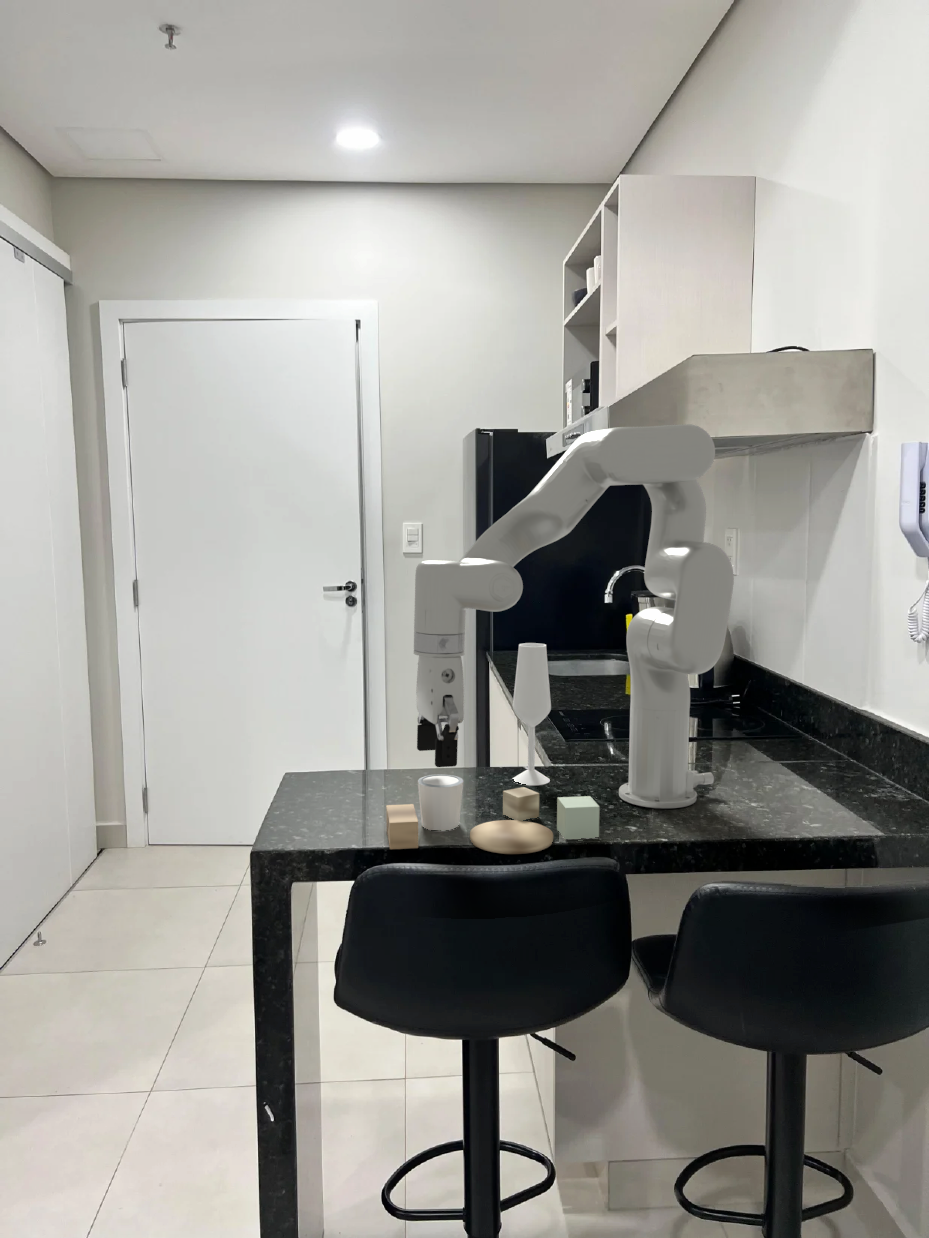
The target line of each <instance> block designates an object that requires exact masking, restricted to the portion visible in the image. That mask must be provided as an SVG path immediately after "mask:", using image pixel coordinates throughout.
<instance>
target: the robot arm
mask: <svg viewBox="0 0 929 1238" xmlns="http://www.w3.org/2000/svg"><path fill="white" fill-rule="evenodd" d="M715 457H716V446H715V443H714V440H713V438H712V437H711V435H710V434H709V433H708V431H707V430H705V429H704V428H703V427H700V426H698V425H696V424H693V423H692V424H690V423H688V424H687V423H685V424H670V425H652V426H649V425H648V426H619V427H617V426H616V427H610V428H609V427H608V428H604V429H597V430H593V431H588V432H585V433H584V434H582V435H581V436H579V437H578V438H577V439H576V440H574V442H573V443H572V444H571V445H570V446H569V447H568V448H567V450H565V452H564V453H563V454H562V455H561V457H560V458H559V459H558V460H557V461H556V462H555V464H554V465H553V466H552V467H551V468H550V470H549V471H548V472H547V473H546V474H545V475H544V476H543V478H542V479H541V480H540V481H539V482H538V484H536V486H535V487H534V488H533V489H532V490H531V492H530V493H529V494H528V495H527V496H526V497H525V498H523V499H522V500H521V501H520V502H518V503H517V504H516V505H515V506H513V507H512V508H511V509H510V510H509V511H508V512H507V513H506V514H504V515H502V517H501V518H499V519H498V520H497V521H495V522H494V523H493V524H492V525H491V526H489V527H488V528H487V529H486V530H485V531H484V532H483V533H482V534H481V535H480V536H479V537H478V538H477V539H476V541H474V543H473V544H472V545H471V547H470V548H468V550H467V551H466V552H465V553H464V555H463V556H462V557H461V558H460V560H458V561H457V560H456V561H455V560H443V559H442V560H439V559H438V560H434V559H433V560H432V559H431V560H428V559H427V560H423V561H421V562H419V563H418V564H417V565H416V569H415V579H414V580H415V581H414V582H415V583H414V586H415V587H414V617H413V618H414V619H413V620H414V621H413V624H414V625H413V654H414V655H416V656H418V662H417V670H416V671H417V676H416V691H415V692H416V693H415V695H416V700H415V701H416V710H417V712H418V715H417V729H416V731H417V732H416V733H417V735H416V749H417V750H418V751H419V752H423V751H434V766H435V767H436V768H450V767H456V766H457V765H458V745H459V744H458V742H459V732H458V731H460V727H459V724H462V723H463V722H464V720H465V693H464V692H465V691H464V690H465V686H464V685H465V683H464V667H463V659H462V657H463V656H465V648H466V647H465V643H466V642H465V640H466V615H467V613H466V611H467V609H469V610H480V611H485V612H497V613H498V612H502V611H506V610H508V609H510V608H512V607H513V606H515V605H516V604H517V602H518V601H519V600H520V599H521V596H522V594H523V589H524V585H523V584H524V583H523V580H522V577H521V574H520V573H519V572H518V570H517V569H515V568H514V567H515V566H516V565H517V564H518V563H519V562H520V561H522V559H524V558H525V557H527V556H528V555H529V554H532V553H533V552H534V551H536V550H538V549H540V548H542V547H545V546H547V545H550V544H553V543H554V542H557V541H559V540H560V539H562V538H564V537H565V536H567V535H568V534H570V533H571V532H572V530H574V529H575V527H576V525H578V523H579V522H580V521H581V519H583V518H584V516H586V514H587V512H588V511H590V509H591V508H592V506H594V504H595V503H596V502H597V501H598V499H600V497H601V496H602V495H603V494H604V493H605V491H606V490H607V489H608V488H609V487H610V486H625V485H627V486H628V485H630V486H631V485H635V486H636V485H642V486H643V487H644V488H645V490H646V492H647V494H648V497H649V498H650V499H649V500H650V503H651V511H652V512H651V521H650V522H651V523H650V531H649V537H648V538H649V539H648V545H647V551H646V558H645V563H644V564H645V565H644V572H643V579H644V583H645V586H646V588H647V589H648V590H649V592H650V593H652V594H653V595H654V596H656V597H660V598H663V599H667V600H670V601H674V602H675V603H674V607H673V608H672V607H667V606H666V607H665V606H652V607H651V606H650V607H648V608H644V609H642V610H640V611H639V612H638V613H636V614H635V615H634V616H633V618H632V619H631V620H630V622H629V625H628V627H627V629H626V630H627V631H626V651H627V658H628V663H629V673H630V674H629V675H630V704H629V706H630V708H629V746H628V747H629V749H628V751H629V752H628V782H625V783H624V784H622V785H620V787H619V788H618V796H619V798H620V799H621V800H623V801H624V802H626V803H628V804H631V805H634V806H635V805H636V806H639V807H642V808H644V807H645V808H651V809H679V808H684V807H688V806H691V805H693V804H694V803H696V802H697V797H698V796H697V795H698V794H697V792H696V790H695V789H694V788H697V786H698V785H701V786H703V785H705V786H706V785H711V784H714V782H715V777H714V775H713V773H712V772H711V771H710V772H702V773H701V772H700V773H699V772H698V770H690V769H689V743H690V742H689V737H690V735H689V734H690V733H689V732H690V707H691V687H690V683H689V682H690V681H689V677H688V675H701V674H705V673H707V672H708V671H710V670H711V669H712V668H714V666H715V665H716V664H717V663H718V661H719V659H720V658H721V655H722V652H723V649H724V646H725V643H726V642H725V640H726V636H727V631H728V623H729V617H730V612H731V603H732V600H733V599H732V597H733V592H734V591H733V590H734V583H735V582H734V581H735V580H734V579H735V575H734V574H735V573H734V570H733V565H732V562H731V560H730V557H729V556H728V554H727V553H726V552H725V551H724V550H723V548H721V547H720V546H718V545H716V544H714V543H710V542H704V538H705V530H706V528H705V527H706V519H707V503H706V499H705V494H704V492H703V490H702V487H701V484H700V483H699V481H698V479H700V478H702V477H703V476H705V474H707V473H708V472H709V470H710V469H711V467H712V466H713V464H714V460H715ZM443 726H444V727H443Z"/></svg>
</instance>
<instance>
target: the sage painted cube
mask: <svg viewBox="0 0 929 1238" xmlns="http://www.w3.org/2000/svg"><path fill="white" fill-rule="evenodd" d="M556 802H557V803H556V805H557V806H556V808H557V809H556V830H557V832H558V831H559V832H560V833H561V835H562V836H563V837H564V839H581V838H595V837H599V838H600V805H599V804H598V803H597V802H596V801H595V800H594V799H593V797H591V795H587V796H586V795H584V796H563V797H561V796H560V797H559V796H558V797H557V799H556ZM559 832H558V833H559ZM560 833H559V834H560ZM561 835H560V836H561ZM562 836H561V837H562ZM563 837H562V838H563ZM564 839H563V840H564Z"/></svg>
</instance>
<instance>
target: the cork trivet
mask: <svg viewBox="0 0 929 1238" xmlns="http://www.w3.org/2000/svg"><path fill="white" fill-rule="evenodd" d="M470 840H471V841H470ZM469 841H470V843H471V842H472V843H473V844H472V843H471V844H472V845H473V846H474V847H476V848H478V849H481V850H483V851H485V852H486V851H487V852H491V853H496V854H501V855H502V854H504V855H522V854H523V855H524V854H532V853H536V852H541V851H542V850H546V849H548V848H549V847H551V846H552V844H553V843H552V842H554V832H553V831H552V830H551V829H550V828H548V827H547V826H545V825H542V824H540V823H537V822H532V821H529V820H528V821H520V820H511V819H505V820H504V819H500V820H493V821H486V822H483V823H480V824H478V825H475V826H474V827H472V828H471V829H470V831H469Z"/></svg>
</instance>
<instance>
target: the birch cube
mask: <svg viewBox="0 0 929 1238" xmlns="http://www.w3.org/2000/svg"><path fill="white" fill-rule="evenodd" d="M503 815H506V816H508V817H509V818H512V819H514V820H520V821H523V820H526V819H530V818H537V817H539V818H540V793H539V792H537V791H535V790H532V789H529V788H527V787H524V786H521V787H515V788H511V789H506V790H503V791H502V816H503ZM509 818H508V819H509ZM537 819H538V818H537Z"/></svg>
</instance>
